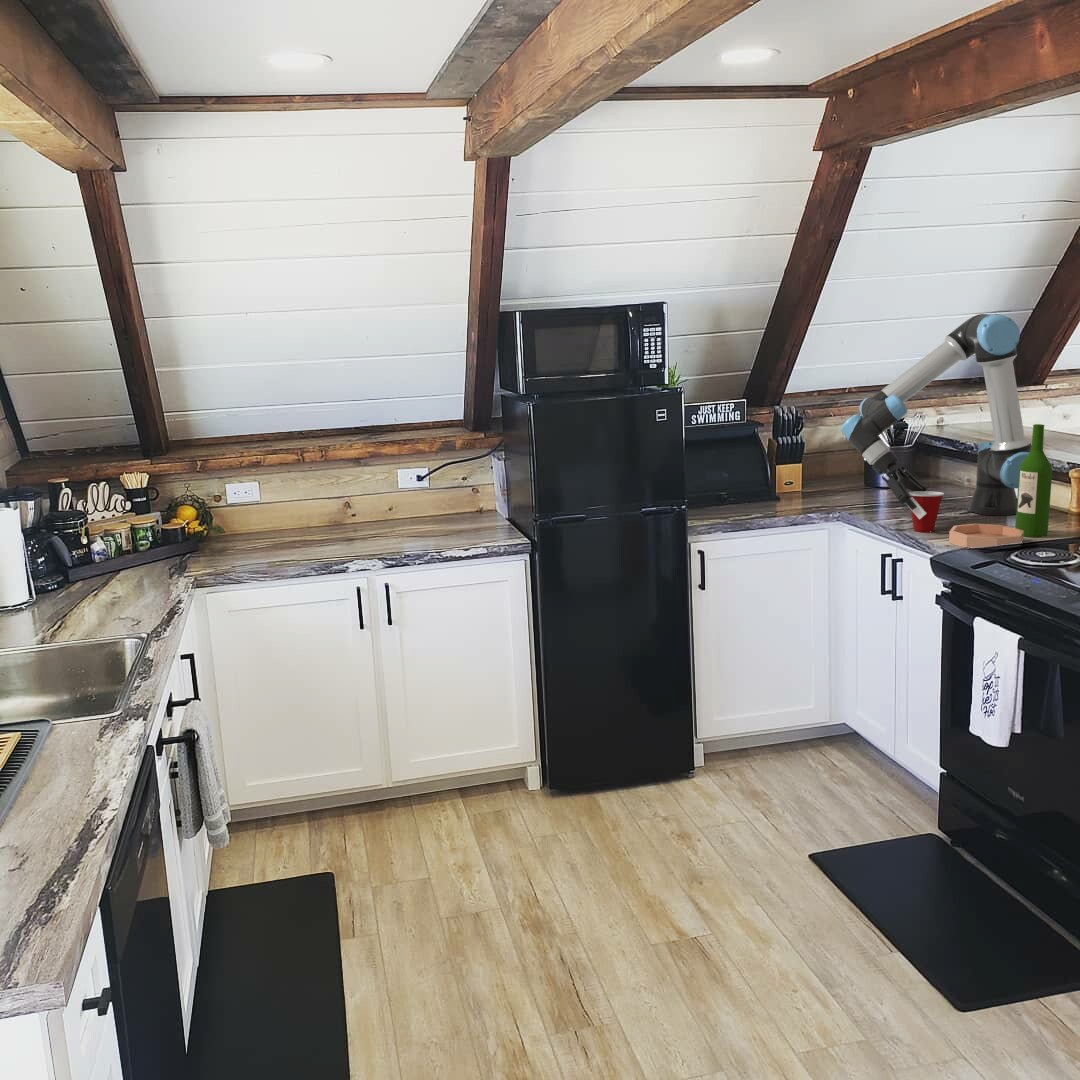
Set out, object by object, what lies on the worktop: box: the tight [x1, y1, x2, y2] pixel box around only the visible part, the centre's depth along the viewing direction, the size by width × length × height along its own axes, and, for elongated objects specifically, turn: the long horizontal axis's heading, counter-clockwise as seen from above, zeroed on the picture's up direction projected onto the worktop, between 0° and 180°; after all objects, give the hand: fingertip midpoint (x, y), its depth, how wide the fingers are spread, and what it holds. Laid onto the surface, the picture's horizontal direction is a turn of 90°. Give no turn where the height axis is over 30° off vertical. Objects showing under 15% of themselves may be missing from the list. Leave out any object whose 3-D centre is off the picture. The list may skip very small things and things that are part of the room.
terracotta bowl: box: [948, 523, 1024, 548], centre depth 323 cm, size 19×19×4 cm
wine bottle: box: [1014, 423, 1053, 538], centre depth 329 cm, size 9×9×32 cm
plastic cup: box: [908, 490, 945, 533], centre depth 340 cm, size 11×11×12 cm
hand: (929, 513), depth 339 cm, fingers closed on plastic cup, 10 cm apart
